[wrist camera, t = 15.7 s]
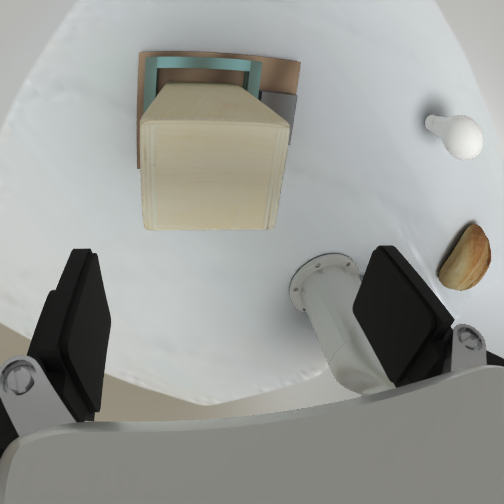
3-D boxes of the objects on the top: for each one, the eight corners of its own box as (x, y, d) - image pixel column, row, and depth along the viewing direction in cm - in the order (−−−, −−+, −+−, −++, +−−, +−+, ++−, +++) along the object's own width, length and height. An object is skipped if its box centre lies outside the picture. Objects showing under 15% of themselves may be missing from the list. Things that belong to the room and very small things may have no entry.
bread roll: (484, 224, 56) (507, 244, 49) (453, 279, 64) (472, 302, 57) (460, 216, 53) (486, 239, 47) (427, 278, 61) (447, 303, 54)
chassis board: (296, 61, 34) (309, 63, 30) (280, 167, 41) (290, 180, 38) (141, 52, 30) (135, 52, 26) (139, 164, 37) (134, 178, 34)
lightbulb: (433, 94, 38) (486, 114, 29) (446, 126, 41) (495, 151, 33) (407, 115, 40) (457, 139, 31) (421, 147, 43) (469, 176, 34)
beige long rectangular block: (162, 143, 35) (143, 242, 18) (165, 81, 31) (138, 115, 14) (231, 143, 37) (276, 240, 20) (237, 83, 33) (296, 121, 16)
